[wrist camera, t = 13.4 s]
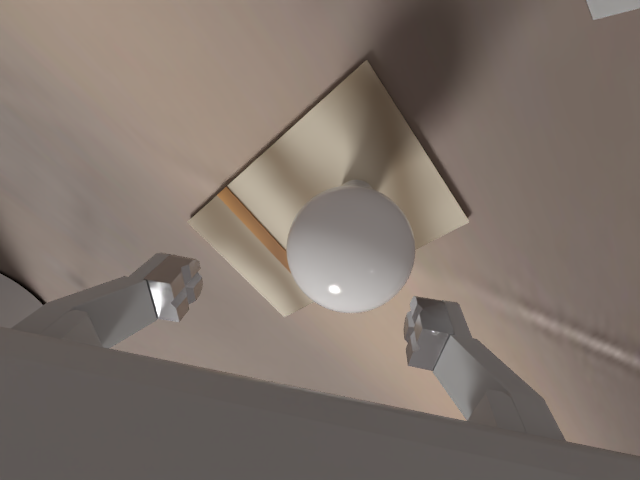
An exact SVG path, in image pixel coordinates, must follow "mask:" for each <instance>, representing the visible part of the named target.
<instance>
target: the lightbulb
mask: <svg viewBox="0 0 640 480" xmlns="http://www.w3.org/2000/svg"><path fill="white" fill-rule="evenodd" d="M286 251H287V261H288V265H289V268H290V271H291V274H292V276H293V278H294V280H295V282H296V283H297V285H298V286H299V288H300V289H301V290H302V291H303V293H304V294H305V295H306V296H308V297H309V298H310V299H311V300H312V301H314V302H315V303H317V304H319V305H320V306H322V307H324V308H327V309H329V310H332V311H336V312H341V313H361V312H366V311H370V310H373V309H376V308H378V307H380V306H382V305H384V304H385V303H387V302H388V301H390V300H391V299H392V298H393V297H394V296H396V295H397V294H398V292H399V291H400V290H401V289H402V288H403V286H404V285H405V283H406V282H407V280H408V278H409V276H410V274H411V271H412V268H413V264H414V259H415V239H414V235H413V231H412V228H411V225H410V223H409V221H408V219H407V217H406V216H405V214H404V212H403V211H402V210H401V209H400V207H399V206H398V205H397V204H396V203H395V202H394V201H393V200H391V199H390V198H389V197H387V196H386V195H384V194H383V193H381V192H379V191H377V190H374V189H372V187H371V186H370V185H369V184H368V183H367V182H365V181H362V180H350V181H348V182H346V183H345V184H343V185H342V186H337V187H333V188H330V189H327V190H325V191H323V192H321V193H319V194H317V195H316V196H314V197H313V198H311V199H310V200H309V201H308V202H307V203H306V204H305V205H304V206H303V207H302V208H301V209H300V210H299V212H298V213H297V215H296V216H295V218H294V220H293V222H292V224H291V227H290V230H289V233H288V238H287V248H286Z"/></svg>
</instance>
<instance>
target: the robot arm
mask: <svg viewBox="0 0 640 480" xmlns="http://www.w3.org/2000/svg"><path fill="white" fill-rule="evenodd" d="M199 270H200V263H199V261H198V260H197V259H193V258H187V257H182V256H177V255H171V254H166V253H156V254H155V255H154V256H153V257H152V258H150V259H149V260H148V261H147V262H146V263H144V264H143V265H142V266H141V267H140V268H138V269H137V270H136V271H135V272H134V273H132V274H131V275H130V276H129V277H126V276H124V277H121V278H118V279H115V280H112V281H109V282H106V283H103V284H100V285H97V286H95V287H92V288H89V289H86V290H83V291H80V292H77V293H74V294H71V295H68V296H65V297H63V298H60V299H57V300H54V301H51V302H48V303H46V304H44V305H42V303H41V302H40V301H39V300H38V299H36V298H35V297H34V296H33V295H32V294H31V293H30V292H28V291H27V290H26V289H24V288H23V287H22V286H20V285H19V284H17V283H16V282H14V281H13V280H11V279H9V278H8V277H6V276H4V275H2V274H0V480H640V456H636V455H631V454H626V453H621V452H616V451H611V450H606V449H601V448H596V447H591V446H587V445H582V444H577V443H572V442H567V441H566V440H565V438H564V436H563V435H562V433H561V431H560V429H559V427H558V425H557V423H556V421H555V419H554V417H553V416H552V414H551V412H550V410H549V408H548V406H547V404H546V402H545V400H544V399H543V398H542V397H541V396H540V395H539V394H538V393H537V392H535V391H534V390H533V389H532V388H531V387H530V386H529V385H528V384H526V383H525V382H524V381H523V380H522V379H521V378H520V377H519V376H518V375H516V374H515V373H514V372H513V371H512V370H511V369H510V368H509V367H507V366H506V365H505V364H504V363H503V362H502V361H501V360H500V359H499V358H497V357H496V356H495V355H494V354H493V353H492V352H491V351H490V350H488V349H487V348H486V347H485V346H484V345H483V344H482V343H481V342H480V341H478V340H477V339H474V338H472V336H471V333H470V331H469V328H468V326H467V323H466V321H465V318H464V316H463V313H462V310H461V308H460V305H459V304H458V303H457V302H450V301H443V300H442V301H441V300H435V299H429V298H423V297H417V296H414V297H413V298H412V300H411V303H410V307H411V311H410V312H408V313H407V315H406V318H405V323H404V339H405V340H406V341H407V342H408V345H407V347H406V355H407V362H408V366H412V367H417V368H421V369H426V370H431V371H433V373H434V375H435V376H436V377H437V379H438V380H439V382H440V383H441V384H442V386H443V387H444V389H445V390H446V392H447V393H448V394H449V396H450V397H451V399H452V400H453V401H454V403H455V404H456V406H457V407H458V409H459V410H460V411H461V413H462V414H463V416H464V417H465V418H466V420H467V421H463V420H458V419H453V418H449V417H444V416H439V415H434V414H429V413H424V412H419V411H414V410H409V409H404V408H399V407H394V406H390V405H385V404H380V403H375V402H370V401H365V400H360V399H355V398H350V397H345V396H340V395H335V394H330V393H325V392H321V391H316V390H311V389H306V388H301V387H296V386H291V385H286V384H281V383H276V382H271V381H266V380H261V379H256V378H252V377H247V376H242V375H237V374H232V373H227V372H222V371H217V370H212V369H207V368H202V367H197V366H192V365H187V364H183V363H178V362H173V361H168V360H163V359H158V358H153V357H148V356H143V355H138V354H133V353H128V352H123V351H118V350H113V349H109V348H111V347H112V346H114V345H116V344H117V343H119V342H121V341H122V340H124V339H126V338H127V337H129V336H131V335H133V334H134V333H136V332H138V331H139V330H141V329H143V328H144V327H146V326H148V325H149V324H151V323H153V322H154V321H156V320H157V319H163V320H169V321H175V322H180V321H181V319H182V318H183V317H184V315H185V314H186V313H187V312H188V310H189V304H190V303H192V302H195V301H196V300H197V298H198V297H199V296H200V293H201V290H202V286H203V281H202V277H201V276H200V275H199V273H198V271H199Z"/></svg>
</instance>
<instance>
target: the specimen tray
mask: <svg viewBox="0 0 640 480" xmlns="http://www.w3.org/2000/svg"><path fill="white" fill-rule="evenodd" d="M586 1H587V4H588V7H589V10H590V12H591V15H592V18H593V20H595V19H599V18H603V17H607V16H611V15H615V14H619V13H623V12H627V11H631V10H635V9H639V8H640V0H586Z"/></svg>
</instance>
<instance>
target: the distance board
mask: <svg viewBox="0 0 640 480" xmlns="http://www.w3.org/2000/svg"><path fill="white" fill-rule="evenodd" d="M350 180H362V181H365V182H367V183H368V184H369V185H370V186H371V187H372V189H374V190H377V191H379V192H381V193H383V194H384V195H386V196H387V197H389V198H390V199H391V200H393V201H394V202H395V203H396V204H397V205H398V206H399V207H400V209H401V210H402V211H403V212H404V214H405V216H406V217H407V219H408V221H409V223H410V225H411V228H412V231H413V235H414V239H415V250H416V249H418V248H420V247H422V246H424V245H426V244H428V243H430V242H432V241H434V240H436V239H437V238H439V237H441V236H443V235H445V234H447V233H449V232H451V231H453V230H455V229H457V228H459V227H461V226H463V225H465V224H467V223H468V222H469V220H468V219H467V217H466V215H465V214H464V212H463V211H462V209H461V208H460V206H459V204H458V203H457V201H456V200H455V198H454V196H453V195H452V193H451V192H450V190H449V189H448V187H447V185H446V184H445V182H444V181H443V179H442V178H441V176H440V174H439V173H438V171H437V170H436V168H435V167H434V165H433V163H432V162H431V160H430V159H429V157H428V155H427V154H426V152H425V151H424V149H423V148H422V146H421V144H420V143H419V141H418V140H417V138H416V137H415V135H414V133H413V132H412V130H411V129H410V127H409V125H408V124H407V122H406V121H405V119H404V118H403V116H402V114H401V113H400V111H399V110H398V108H397V107H396V105H395V103H394V102H393V100H392V99H391V97H390V95H389V94H388V92H387V91H386V89H385V88H384V86H383V84H382V83H381V81H380V80H379V78H378V77H377V75H376V73H375V72H374V70H373V69H372V67H371V65H370V64H369V62H368V61H367V60H366V61H365V62H363V63H362V64H361V65H360V66H359V67H358V68H357V69H356V70H355V71H354V72H352V73H351V74H350V75H349V76H348V77H347V78H346V79H345V80H344V81H342V82H341V83H340V84H339V85H338V86H337V87H336V88H335V89H334V90H333V91H331V92H330V93H329V94H328V95H327V96H326V97H325V98H324V99H323V100H321V101H320V102H319V103H318V104H317V105H316V106H315V107H314V108H313V109H312V110H310V111H309V112H308V113H307V114H306V115H305V116H304V117H303V118H302V119H300V120H299V121H298V122H297V123H296V124H295V125H294V126H293V127H292V128H291V129H289V130H288V131H287V132H286V133H285V134H284V135H283V136H282V137H281V138H279V139H278V140H277V141H276V142H275V143H274V144H273V145H272V146H271V147H270V148H268V149H267V150H266V151H265V152H264V153H263V154H262V155H261V156H260V157H258V158H257V159H256V160H255V161H254V162H253V163H252V164H251V165H250V166H249V167H247V168H246V169H245V170H244V171H243V172H242V173H241V174H240V175H239V176H237V177H236V178H235V179H234V180H233V181H232V182H231V183H230V184H229V185H228V186H226V187H225V188H224V189H223V190H222V191H221V192H220V193H219V194H217V195H216V196H215V197H214V198H213V199H212V200H211V201H210V202H209V203H208V204H207V205H205V206H204V207H203V208H202V209H201V210H200V211H199V212H198V213H197V214H195V215H194V216H193V217H192V218H191V219H190V220H189V221H188V223H189V224H190V225H191V226H192V227H193V228H194V229H195V230H196V231H197V232H198V233H199V234H200V235H201V236H202V237H203V238H204V239H205V240H206V241H207V242H208V243H209V244H210V245H211V246H212V247H213V248H214V249H215V250H216V251H217V252H218V253H219V254H220V255H221V256H222V257H223V258H224V259H225V260H226V261H227V262H228V263H229V264H230V265H231V266H233V267H234V268H235V269H236V270H237V271H238V272H239V273H240V274H241V275H242V276H243V277H244V278H245V279H246V280H247V281H248V282H249V283H250V284H251V285H252V286H253V287H254V288H255V289H256V290H257V291H258V292H259V293H260V294H261V295H262V296H263V297H264V298H265V299H266V300H267V301H268V302H269V303H270V304H271V305H272V306H273V307H274V308H275V309H276V310H277V311H278V312H279V313H281V314H282V315H283V316H284V317H286V316H288V315H290V314H292V313H294V312H296V311H298V310H300V309H302V308H304V307H306V306H307V305H309V304H311V303H313V302H314V301H312V300H311V299H310V298H309V297H308V296H306V295H305V294H304V293H303V291H302V290H301V289H300V288H299V286H298V285H297V283H296V282H295V280H294V278H293V276H292V274H291V271H290V268H289V265H288V261H287V251H286V248H287V238H288V233H289V230H290V227H291V224H292V222H293V220H294V218H295V216H296V215H297V213H298V212H299V210H300V209H301V208H302V207H303V206H304V205H305V204H306V203H307V202H308V201H309V200H310V199H311V198H313V197H314V196H316V195H317V194H319V193H321V192H323V191H325V190H327V189H330V188H333V187H337V186H342V185H343V184H345V183H346V182H348V181H350Z"/></svg>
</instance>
